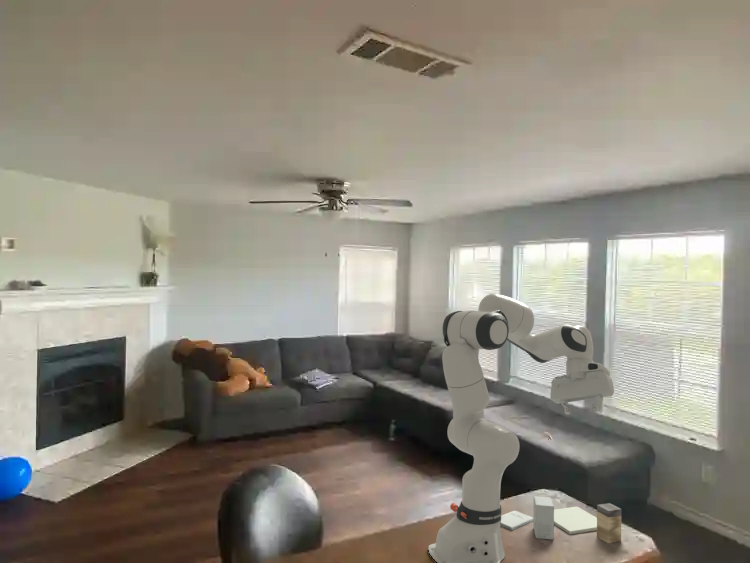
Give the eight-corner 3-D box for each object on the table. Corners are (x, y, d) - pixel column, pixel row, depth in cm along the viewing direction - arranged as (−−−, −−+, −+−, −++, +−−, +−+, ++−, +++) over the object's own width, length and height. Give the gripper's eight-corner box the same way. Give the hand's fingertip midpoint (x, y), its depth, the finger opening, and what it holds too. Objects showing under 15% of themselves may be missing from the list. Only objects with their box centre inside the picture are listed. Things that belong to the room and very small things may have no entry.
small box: (553, 540, 168) (554, 506, 168) (535, 538, 169) (535, 504, 170) (550, 529, 176) (551, 497, 176) (533, 527, 177) (533, 495, 177)
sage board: (570, 534, 173) (570, 531, 173) (539, 514, 188) (539, 511, 188) (609, 528, 178) (610, 525, 178) (576, 509, 193) (577, 506, 193)
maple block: (608, 543, 167) (608, 511, 167) (596, 536, 172) (597, 504, 172) (621, 541, 169) (621, 509, 169) (609, 534, 173) (609, 503, 173)
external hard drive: (491, 523, 181) (513, 514, 189) (511, 532, 175) (534, 522, 183) (491, 518, 181) (513, 509, 189) (512, 527, 175) (534, 517, 183)
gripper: (546, 373, 184) (546, 412, 176) (605, 363, 170) (608, 404, 163) (556, 381, 187) (556, 419, 180) (614, 371, 174) (617, 411, 166)
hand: (581, 412), depth 171 cm, fingers open, 8 cm apart
